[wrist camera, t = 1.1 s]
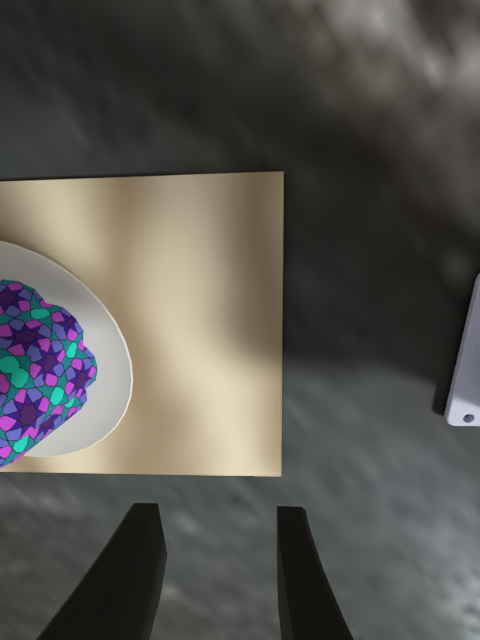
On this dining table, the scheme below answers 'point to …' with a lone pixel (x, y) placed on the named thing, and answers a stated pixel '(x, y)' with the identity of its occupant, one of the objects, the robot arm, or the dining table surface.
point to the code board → (173, 311)
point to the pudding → (56, 360)
